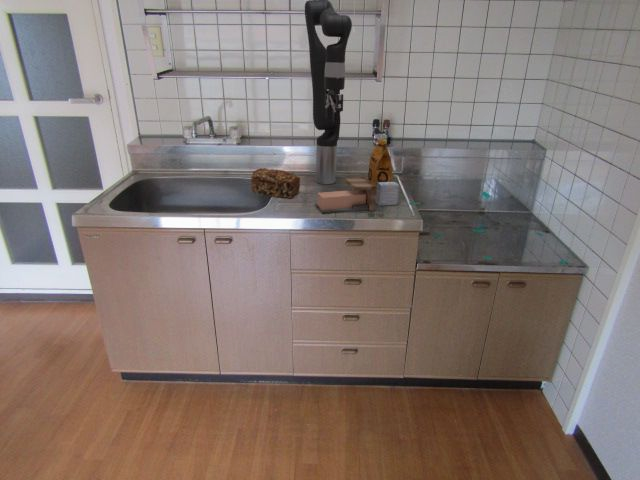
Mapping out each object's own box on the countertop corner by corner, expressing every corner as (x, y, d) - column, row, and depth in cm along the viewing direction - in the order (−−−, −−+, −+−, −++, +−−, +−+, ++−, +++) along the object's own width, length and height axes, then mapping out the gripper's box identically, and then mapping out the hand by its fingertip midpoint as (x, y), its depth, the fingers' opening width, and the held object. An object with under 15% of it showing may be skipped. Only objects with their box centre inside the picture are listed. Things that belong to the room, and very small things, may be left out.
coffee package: (369, 195, 189) (373, 144, 179) (365, 186, 200) (369, 137, 191) (392, 195, 189) (398, 144, 180) (387, 186, 200) (392, 138, 191)
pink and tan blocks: (314, 204, 176) (314, 180, 172) (362, 200, 182) (364, 177, 178) (323, 215, 166) (324, 189, 162) (374, 210, 172) (376, 185, 168)
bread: (250, 193, 186) (249, 171, 182) (261, 186, 196) (261, 164, 191) (291, 200, 181) (291, 176, 177) (300, 192, 190) (301, 169, 186)
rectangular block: (317, 204, 174) (317, 192, 172) (359, 201, 179) (360, 189, 177) (322, 210, 168) (322, 197, 166) (365, 206, 174) (366, 194, 172)
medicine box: (393, 201, 182) (395, 181, 179) (397, 205, 178) (399, 184, 175) (375, 202, 181) (377, 182, 177) (378, 206, 177) (380, 185, 173)
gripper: (319, 73, 167) (318, 117, 174) (331, 77, 155) (329, 124, 161) (337, 74, 169) (335, 117, 176) (351, 77, 157) (348, 123, 164)
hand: (332, 120), depth 169 cm, fingers open, 8 cm apart
